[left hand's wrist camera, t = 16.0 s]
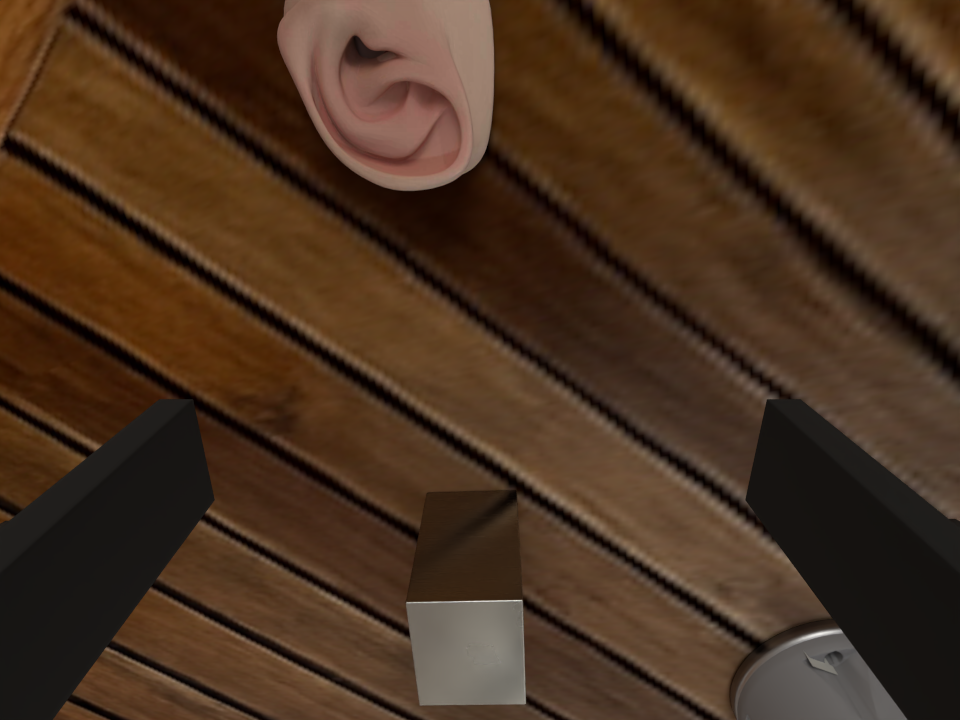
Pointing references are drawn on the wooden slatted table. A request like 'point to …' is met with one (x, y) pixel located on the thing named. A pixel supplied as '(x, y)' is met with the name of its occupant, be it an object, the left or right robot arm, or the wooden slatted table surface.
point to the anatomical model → (395, 84)
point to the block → (468, 601)
